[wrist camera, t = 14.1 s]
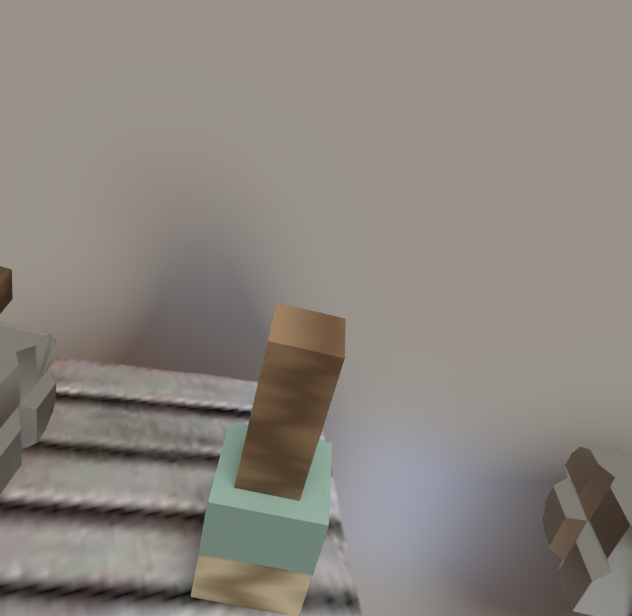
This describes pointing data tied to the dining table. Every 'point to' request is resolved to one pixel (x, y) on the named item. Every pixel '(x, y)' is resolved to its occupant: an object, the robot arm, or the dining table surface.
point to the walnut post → (291, 401)
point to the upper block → (266, 514)
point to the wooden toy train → (5, 287)
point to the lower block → (250, 585)
